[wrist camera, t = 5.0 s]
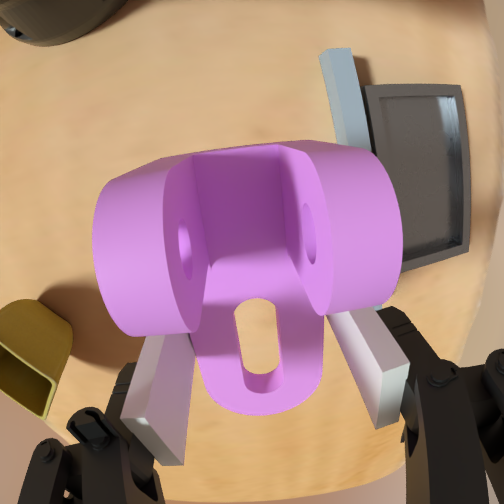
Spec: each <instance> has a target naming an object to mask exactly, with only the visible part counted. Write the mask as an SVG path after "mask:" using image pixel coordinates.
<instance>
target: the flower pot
mask: <svg viewBox="0 0 504 504" xmlns="http://www.w3.org/2000/svg"><path fill="white" fill-rule="evenodd" d="M72 344H73V332H72V327H71V325H70V324H69V323H68V322H67V321H65V320H64V319H62V318H61V317H59V316H58V315H57V314H55V313H54V312H52V311H51V310H50V309H48V308H47V307H45V306H44V305H43V304H41V303H40V302H39V301H37V300H32V299H22V300H17V301H14V302H11V303H9V304H8V305H6V306H5V307H3V308H2V309H1V310H0V391H1V392H3V393H4V394H5V395H7V396H8V397H9V398H11V399H12V400H14V401H15V402H16V403H17V404H19V405H20V406H22V407H24V408H25V409H26V410H28V411H29V412H31V413H32V414H34V415H35V416H37V417H39V418H40V419H42V420H46V418H47V415H48V412H49V409H50V406H51V403H52V401H53V398H54V395H55V392H56V390H57V387H58V384H59V380H60V378H61V375H62V372H63V370H64V367H65V365H66V363H67V360H68V357H69V355H70V352H71V349H72Z"/></svg>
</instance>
